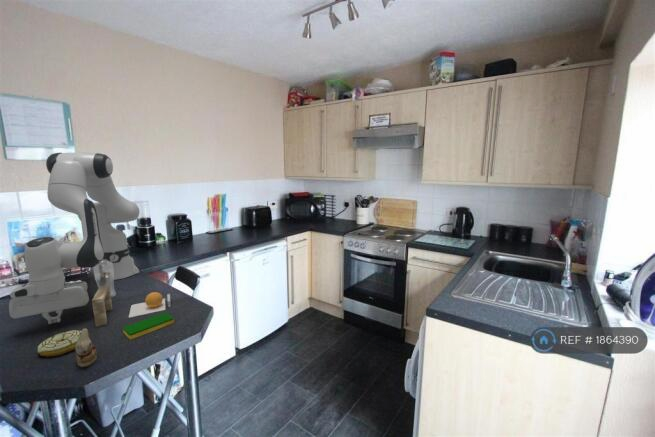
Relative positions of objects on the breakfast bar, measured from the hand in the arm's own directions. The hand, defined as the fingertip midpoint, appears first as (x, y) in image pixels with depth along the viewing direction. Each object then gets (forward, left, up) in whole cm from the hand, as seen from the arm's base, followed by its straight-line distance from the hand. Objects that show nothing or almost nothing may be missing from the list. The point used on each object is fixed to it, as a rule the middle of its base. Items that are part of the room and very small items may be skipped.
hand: (54, 322), depth 104 cm
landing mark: (0, +28, -2) cm, 28 cm away
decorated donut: (+18, +6, -2) cm, 19 cm away
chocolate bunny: (+30, +14, -2) cm, 33 cm away
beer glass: (-23, +12, -2) cm, 26 cm away
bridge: (0, +14, -2) cm, 14 cm away
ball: (+1, +30, +1) cm, 30 cm away
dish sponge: (+18, +29, -2) cm, 34 cm away
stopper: (0, +36, -2) cm, 36 cm away
